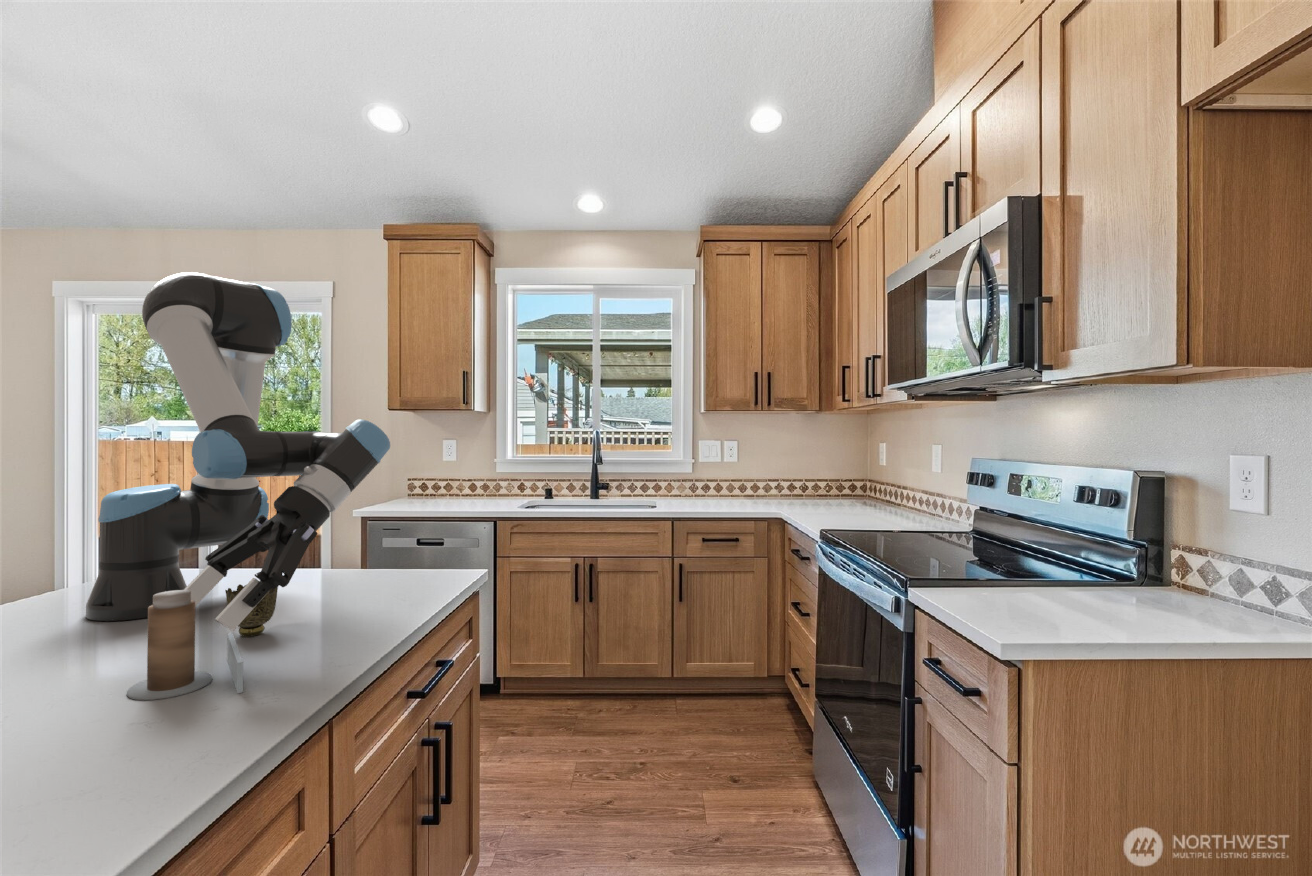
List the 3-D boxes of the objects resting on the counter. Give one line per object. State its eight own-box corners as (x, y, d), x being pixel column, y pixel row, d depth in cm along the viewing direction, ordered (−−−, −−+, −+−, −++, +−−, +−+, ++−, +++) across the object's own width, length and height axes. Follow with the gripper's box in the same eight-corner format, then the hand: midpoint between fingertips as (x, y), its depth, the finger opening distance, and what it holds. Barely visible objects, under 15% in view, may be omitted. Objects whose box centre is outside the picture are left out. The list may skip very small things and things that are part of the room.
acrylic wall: (227, 660, 93) (227, 633, 93) (231, 659, 93) (232, 632, 93) (237, 693, 81) (237, 662, 81) (242, 692, 82) (243, 661, 82)
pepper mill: (147, 681, 84) (148, 592, 84) (193, 673, 87) (194, 587, 87) (146, 694, 80) (147, 600, 80) (195, 684, 83) (196, 594, 83)
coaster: (128, 683, 84) (128, 681, 84) (210, 668, 90) (210, 666, 90) (125, 706, 77) (125, 703, 77) (214, 688, 83) (214, 686, 83)
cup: (251, 643, 101) (252, 593, 101) (213, 639, 102) (214, 590, 102) (287, 629, 108) (288, 583, 108) (251, 626, 109) (252, 580, 109)
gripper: (254, 479, 104) (141, 587, 91) (340, 488, 90) (222, 617, 78) (287, 508, 108) (183, 615, 95) (373, 521, 95) (266, 647, 82)
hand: (200, 616), depth 86 cm, fingers open, 13 cm apart
